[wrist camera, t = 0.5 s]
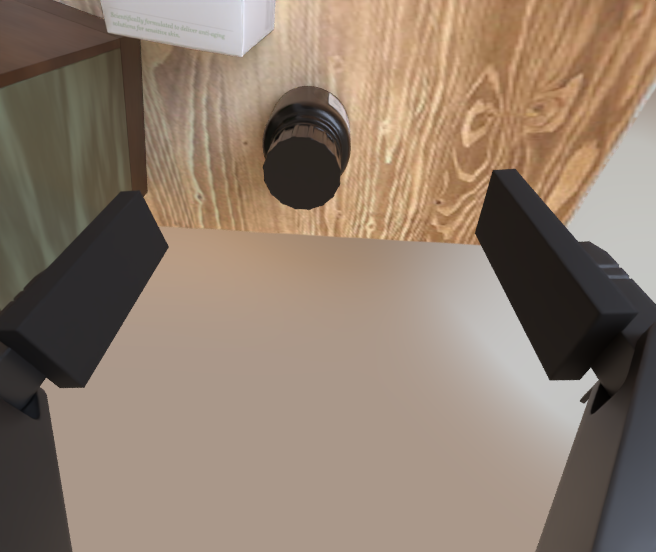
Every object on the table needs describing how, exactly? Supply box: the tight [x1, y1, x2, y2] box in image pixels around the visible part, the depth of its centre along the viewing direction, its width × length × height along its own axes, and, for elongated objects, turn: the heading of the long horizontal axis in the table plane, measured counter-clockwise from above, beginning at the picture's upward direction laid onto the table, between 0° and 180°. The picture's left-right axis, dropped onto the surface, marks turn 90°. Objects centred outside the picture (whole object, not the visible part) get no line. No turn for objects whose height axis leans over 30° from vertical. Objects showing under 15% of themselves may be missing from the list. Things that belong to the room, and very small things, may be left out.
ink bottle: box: [263, 86, 351, 210], centre depth 33 cm, size 10×9×12 cm
